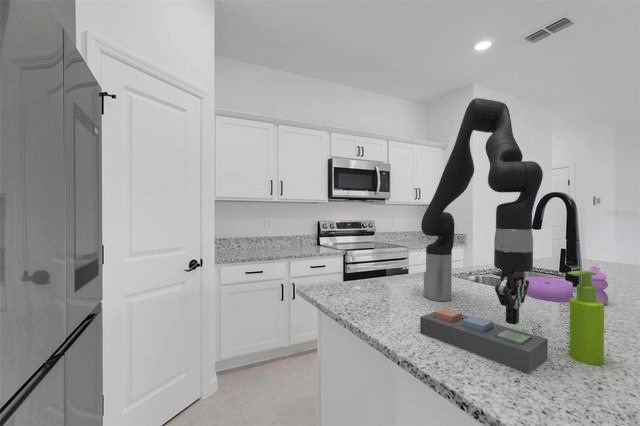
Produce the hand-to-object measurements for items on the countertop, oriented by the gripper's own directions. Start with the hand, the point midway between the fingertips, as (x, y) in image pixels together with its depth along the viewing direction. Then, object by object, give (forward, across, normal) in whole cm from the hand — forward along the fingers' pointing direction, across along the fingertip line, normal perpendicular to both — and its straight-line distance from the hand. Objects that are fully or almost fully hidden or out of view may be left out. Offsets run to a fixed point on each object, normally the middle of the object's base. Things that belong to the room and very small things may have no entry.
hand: (512, 323), depth 70 cm
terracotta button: (+5, 0, -16) cm, 16 cm away
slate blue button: (+5, 0, -8) cm, 9 cm away
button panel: (+8, 0, -8) cm, 11 cm away
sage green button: (+6, 0, 0) cm, 6 cm away
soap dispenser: (+8, -12, +10) cm, 18 cm away
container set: (+8, -67, -8) cm, 68 cm away
